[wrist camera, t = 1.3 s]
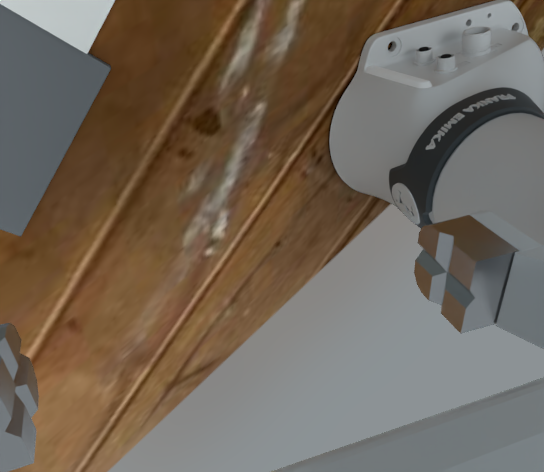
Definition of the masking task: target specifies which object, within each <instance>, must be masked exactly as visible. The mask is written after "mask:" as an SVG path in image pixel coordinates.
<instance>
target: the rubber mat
mask: <svg viewBox="0 0 544 472" xmlns="http://www.w3.org/2000/svg"><path fill="white" fill-rule="evenodd" d="M110 69H111V66H110V65H108V64H107V63H105V62H103V61H102V60H100V59H98V58H96V57H95V56H93V55H91V54H90V53H87V54H86V53H84V52H82V51H80V50H79V49H77V48H75V47H74V46H72V45H70V44H68V43H67V42H65V41H63V40H61V39H60V38H58V37H56V36H55V35H53V34H51V33H49V32H48V31H46V30H44V29H43V28H41V27H39V26H37V25H36V24H34V23H32V22H31V21H29V20H27V19H25V18H24V17H22V16H20V15H18V14H17V13H15V12H13V11H12V10H10V9H8V8H6V7H5V6H3V5H1V4H0V229H1V230H4V231H7V232H10V233H12V234H15V235H18V236H21V235H22V233H23V231H24V230H25V228H26V226H27V224H28V222H29V220H30V218H31V217H32V215H33V213H34V211H35V209H36V207H37V205H38V204H39V202H40V200H41V198H42V196H43V194H44V192H45V190H46V189H47V187H48V185H49V183H50V181H51V179H52V177H53V176H54V174H55V172H56V170H57V168H58V166H59V164H60V163H61V161H62V159H63V157H64V155H65V153H66V151H67V150H68V148H69V146H70V144H71V142H72V140H73V138H74V137H75V135H76V133H77V131H78V129H79V127H80V125H81V123H82V122H83V120H84V118H85V116H86V114H87V112H88V110H89V109H90V107H91V105H92V103H93V101H94V99H95V97H96V96H97V94H98V92H99V90H100V88H101V86H102V84H103V83H104V81H105V79H106V77H107V75H108V73H109V71H110Z"/></svg>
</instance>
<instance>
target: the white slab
mask: <svg viewBox="0 0 544 472" xmlns="http://www.w3.org/2000/svg"><path fill="white" fill-rule="evenodd" d="M114 1H115V0H0V4H1V5H3V6H5V7H6V8H8V9H10V10H12V11H13V12H15V13H17V14H18V15H20V16H22V17H24V18H25V19H27V20H29V21H31V22H32V23H34V24H36V25H37V26H39V27H41V28H43V29H44V30H46V31H48V32H49V33H51V34H53V35H55V36H56V37H58V38H60V39H61V40H63V41H65V42H67V43H68V44H70V45H72V46H74V47H75V48H77V49H79V50H80V51H82V52H84V53H86V54H87V53H88V51H89V50H90V48H91V46H92V44H93V42H94V40H95V38H96V36H97V34H98V32H99V30H100V28H101V26H102V25H103V23H104V21H105V19H106V17H107V15H108V13H109V11H110V9H111V7H112V5H113V3H114Z"/></svg>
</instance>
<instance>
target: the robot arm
mask: <svg viewBox="0 0 544 472" xmlns="http://www.w3.org/2000/svg"><path fill="white" fill-rule="evenodd" d="M513 25H514V26H513ZM512 26H513V29H512ZM390 42H392V47H391V48H390V49H389V50H388V45H389V43H390ZM329 144H330V154H331V158H332V162H333V165H334V167H335V169H336V171H337V173H338V175H339V176H340V177H341V179H342V180H343V181H344V182H345V183H346V184H347V185H348V186H350V187H351V188H353V189H354V190H356V191H358V192H361V193H364V194H368V195H372V196H375V197H378V198H380V199H383V200H385V201H387V202H389V203H391V204H393V205H395V206H397V207H398V208H399V210H400V211H402V212H403V214H404V215H405V216H406V217H408V219H410V220H411V221H412V222H413V223H415V224H416V225H417V226H418V227H420V228H421V231H420V232H419V239H418V244H419V245H420V247H421V248H422V249H423V250H422V252H421V253H420V254H419V256H418V257H417V259H416V260H415V272H414V273H415V277H416V281H417V285H418V287H419V288H420V290H421V292H422V293H423V295H424V296H425V297H426V298H427V299H428V300H429V301H432V302H435V303H437V304H440V305H441V314H442V315H443V316H444V317H445V318H446V319H447V320H448V321H449V322H450V323H451V324H452V325H453V326H454V327H455V328H456V329H457V330H458V331H459V332H460V333H464V332H468V331H472V330H475V329H479V328H483V327H486V326H490V325H494V324H496V326H497V327H499V328H502V329H503V330H505V331H508V332H510V333H512V334H514V335H516V336H518V337H520V338H522V339H524V340H526V341H528V342H530V343H532V344H534V345H537V346H538V347H541V348H543V349H544V59H543V55H542V53H541V51H540V48H539V47H538V45H537V44H536V43H535V42H534V41H533V40H532V39H531V38H530V37H529V36H528V31H527V28H526V24H525V22H524V19H523V17H522V15H521V13H520V11H519V10H518V8H517V7H516V6H515V4H514V3H513V2H511V1H509V0H495V1H491V2H488V3H484V4H481V5H477V6H473V7H470V8H466V9H463V10H459V11H455V12H452V13H448V14H444V15H441V16H437V17H434V18H430V19H426V20H423V21H419V22H416V23H412V24H408V25H405V26H401V27H398V28H394V29H390V30H387V31H383V32H380V33H376V34H374V35H372V36H371V37H370V38H369V39H368V40H367V41H366V43H365V45H364V48H363V51H362V54H361V57H360V61H359V65H358V69H357V72H356V74H355V76H354V78H353V80H352V81H351V83H350V84H349V86H348V87H347V89H346V90H345V92H344V94H343V95H342V97H341V99H340V101H339V103H338V105H337V107H336V110H335V113H334V116H333V119H332V123H331V129H330V139H329ZM20 347H21V338H20V336H19V334H18V332H17V330H16V328H15V326H14V325H13V324H11V323H7V324H2V325H0V472H8V471H11V470H14V469H17V468H20V467H23V466H26V465H29V464H32V463H34V454H35V441H36V428H35V426H34V424H33V422H32V419H31V417H32V416H33V415H34V414H35V412H36V411H37V410H38V398H39V395H38V386H37V379H36V376H35V372H34V368H33V366H32V363H31V361H30V359H29V358H28V357H26V356H24V355H22V354H20ZM272 472H544V378H540V379H537V380H535V381H532V382H529V383H526V384H523V385H520V386H517V387H514V388H512V389H509V390H506V391H503V392H500V393H497V394H494V395H491V396H489V397H486V398H483V399H480V400H477V401H474V402H471V403H468V404H465V405H462V406H459V407H457V408H454V409H451V410H448V411H445V412H442V413H440V414H436V415H433V416H431V417H428V418H425V419H422V420H419V421H416V422H413V423H410V424H407V425H404V426H402V427H399V428H396V429H393V430H390V431H388V432H384V433H381V434H378V435H376V436H373V437H370V438H367V439H364V440H361V441H358V442H355V443H353V444H349V445H347V446H344V447H341V448H338V449H335V450H332V451H329V452H326V453H323V454H321V455H318V456H315V457H312V458H309V459H306V460H303V461H300V462H297V463H295V464H292V465H289V466H286V467H283V468H280V469H277V470H274V471H272Z"/></svg>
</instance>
